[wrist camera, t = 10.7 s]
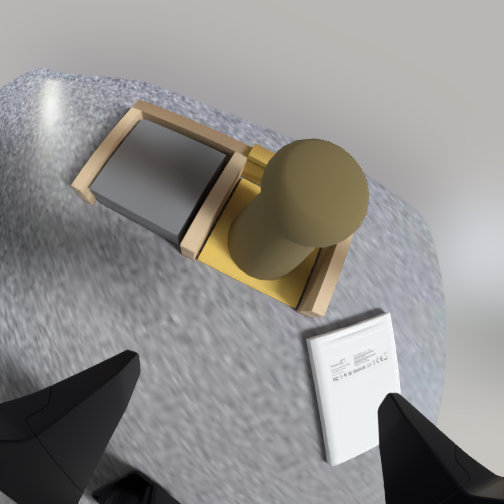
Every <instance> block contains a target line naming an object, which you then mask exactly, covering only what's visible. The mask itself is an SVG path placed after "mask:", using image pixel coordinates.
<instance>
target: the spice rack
mask: <svg viewBox="0 0 504 504" xmlns="http://www.w3.org/2000/svg"><path fill="white" fill-rule="evenodd" d="M274 155H275V153H273V152H271V151H269V150H267V149H265V148H263V147H261V146H259V145H257V144H255V145H254V147H253V148H252V147H250V146H248V145H246V144H244V143H242V142H240V141H237V140H235V139H233V138H231V137H229V136H227V135H225V134H222V133H220V132H218V131H216V130H214V129H211V128H209V127H207V126H205V125H202V124H200V123H198V122H195V121H193V120H191V119H188V118H186V117H183V116H181V115H178V114H176V113H173V112H171V111H168V110H166V109H163V108H161V107H158V106H155V105H153V104H150V103H147V102H144V101H142V100H139V101H138V102H137V103H136V104H135V105H134V106H133V107H132V108H131V109H130V110H129V111H128V112H127V114H126V115H125V116H124V117H123V118H122V119H121V120H120V121H119V123H118V124H117V125H116V126H115V127H114V128H113V130H112V131H111V132H110V133H109V134H108V136H107V137H106V138H105V139H104V141H103V142H102V143H101V144H100V146H99V147H98V148H97V150H96V151H95V152H94V154H93V155H92V156H91V158H90V159H89V160H88V162H87V163H86V164H85V166H84V167H83V169H82V170H81V171H80V173H79V174H78V176H77V177H76V179H75V180H74V182H73V183H72V185H71V186H72V187H73V188H74V190H75V191H76V192H77V193H78V194H79V195H80V197H81V198H82V199H83V200H84V201H85V202H87V203H89V204H90V205H92V206H93V204H94V203H95V201H96V200H97V199H98V201H99V202H100V203H101V204H103V205H105V206H106V207H108V208H110V209H112V210H114V211H115V212H117V213H119V214H121V215H123V216H125V217H126V218H128V219H130V220H132V221H134V222H135V223H137V224H139V225H141V226H143V227H145V228H147V229H148V230H150V231H152V232H154V233H156V234H158V235H160V236H162V237H163V238H165V239H167V240H169V241H171V242H173V243H175V244H177V245H179V246H180V247H181V252H182V255H183V256H185V257H187V258H189V259H191V260H193V261H194V260H195V258H196V256H197V254H198V252H199V250H200V249H201V247H202V245H203V243H204V241H205V239H206V237H207V236H208V234H209V232H210V230H211V228H212V226H213V225H214V223H215V221H216V219H217V217H218V215H219V214H220V212H221V210H222V208H223V206H224V205H225V203H226V201H227V199H228V198H229V196H230V194H231V192H232V191H233V189H234V187H235V185H236V184H237V182H238V180H239V178H240V177H243V178H245V179H247V180H249V181H251V182H253V183H255V184H257V185H259V186H261V179H262V176H263V173H264V171H265V168H266V166H267V164H268V161H269V160H270V159H271V158H272V157H273V156H274ZM223 168H225V169H224V171H223V172H222V170H223ZM221 173H222V174H221ZM218 178H219V179H218ZM243 178H242V179H241V181H240V183H239V185H238V186H237V188H236V190H235V192H234V193H233V195H232V197H231V199H230V201H229V202H228V204H227V206H226V208H225V210H224V211H223V213H222V215H221V217H220V219H219V220H218V222H217V224H216V226H215V228H214V230H213V231H212V233H211V235H210V237H209V239H208V241H207V243H206V244H205V246H204V248H203V250H202V252H201V254H200V256H199V258H198V260H199V261H201V262H203V263H204V264H206V265H208V266H210V267H212V268H214V269H216V270H218V271H220V272H222V273H224V274H226V275H228V276H230V277H232V278H234V279H236V280H238V281H240V282H242V283H244V284H246V285H248V286H250V287H252V288H254V289H256V290H258V291H260V292H262V293H264V294H266V295H268V296H270V297H272V298H274V299H277V300H279V301H281V302H283V303H285V304H287V305H289V306H291V307H293V308H296V306H297V304H298V302H299V299H300V297H301V295H302V292H303V290H304V287H305V285H306V282H307V280H308V277H309V275H310V273H311V270H312V268H313V265H314V262H315V260H316V257H317V255H318V252H319V250H320V247H316V248H315V249H314V250H313V251H312V252H311V253H310V254H309V255H308V256H307V257H306V258H305V259H304V260H303V261H302V262H301V263H300V264H299V265H298V266H297V267H296V268H295V269H294V270H293V271H292V272H290V273H289V274H288V275H286V276H285V277H283V278H279V279H276V280H273V281H272V280H259V279H256V278H253V277H250V276H248V275H247V274H246V273H244V272H243V271H242V270H240V269H239V268H238V267H237V265H236V264H235V262H234V261H233V259H232V258H231V255H230V252H229V248H228V232H229V229H230V226H231V224H232V222H233V220H234V219H235V218H236V217H237V216H238V215H239V213H240V212H241V211H242V210H243V209H244V208H245V207H246V206H247V205H248V204H249V203H250V202H251V201H252V200H253V199H254V198H255V197H256V196H257V195H258V194H259V193H260V192H261V187H259V186H257V185H255V184H253V183H251V182H249V181H247V180H245V179H243ZM215 183H216V184H215ZM212 188H213V189H212ZM209 193H210V194H209ZM206 198H207V199H206ZM203 203H204V204H203ZM200 208H201V209H200ZM199 210H200V211H199ZM196 215H197V216H196ZM195 217H196V218H195ZM192 222H193V223H192ZM191 224H192V225H191ZM188 229H189V230H188ZM187 231H188V232H187ZM353 234H354V233H353ZM353 234H352V235H351V236H349V237H348V238H347V239H346V240H344V241H342V242H340V243H338V244H334V245H331V246H328V247H322V249H321V251H320V254H319V256H318V259H317V262H316V264H315V267H314V269H313V272H312V274H311V277H310V279H309V282H308V284H307V287H306V289H305V292H304V294H303V296H302V299H301V301H300V304H299V306H298V308H297V311H296V312H298V313H300V314H302V315H304V316H306V317H324V315H325V312H326V310H327V307H328V305H329V302H330V300H331V297H332V294H333V292H334V289H335V286H336V284H337V281H338V278H339V275H340V272H341V270H342V267H343V264H344V261H345V258H346V255H347V252H348V249H349V246H350V243H351V240H352V237H353ZM183 238H184V239H183ZM182 240H183V241H182Z"/></svg>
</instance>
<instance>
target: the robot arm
mask: <svg viewBox="0 0 504 504" xmlns="http://www.w3.org/2000/svg"><path fill="white" fill-rule="evenodd" d="M139 375H140V360H139V354H138V353H137V352H134V351H131V350H126V351H124V352H122V353H119V354H117V355H115V356H113V357H111V358H109V359H107V360H105V361H103V362H101V363H99V364H97V365H95V366H92V367H90V368H88V369H86V370H84V371H82V372H80V373H78V374H75V375H73V376H71V377H69V378H67V379H65V380H62V381H60V382H58V383H56V384H54V385H52V386H49V387H47V388H44V389H42V390H40V391H37V392H35V393H32V394H30V395H27V396H24V397H21V398H17V399H14V400H11V401H7V402H4V403H0V504H78V502H79V500H80V498H81V496H82V494H83V493H82V492H84V489H85V487H86V485H87V483H88V481H89V479H90V477H91V475H92V473H93V471H94V469H95V467H96V465H97V463H98V461H99V460H100V458H101V456H102V454H103V452H104V450H105V448H106V446H107V444H108V442H109V440H110V438H111V436H112V434H113V433H114V431H115V429H116V427H117V425H118V423H119V421H120V419H121V418H122V416H123V414H124V412H125V410H126V408H127V406H128V403H129V401H130V398H131V395H132V393H133V390H134V388H135V385H136V383H137V380H138V378H139ZM377 414H378V433H379V449H380V456H381V464H382V472H383V481H384V490H385V502H386V504H504V477H501V476H498V475H495V474H494V473H492V472H491V471H490V470H488V469H487V468H485V467H484V466H483V465H481V464H480V463H478V462H477V461H476V460H474V459H473V458H472V457H470V456H469V455H468V454H467V453H465V452H464V451H463V450H462V449H461V448H459V447H458V446H457V445H456V444H455V443H454V442H453V441H452V440H450V439H449V438H448V437H447V436H446V435H445V434H444V433H442V432H441V431H440V430H439V429H438V428H437V427H436V426H435V425H434V424H433V423H431V422H430V421H429V420H428V419H427V418H426V417H425V416H424V415H422V414H421V413H420V412H419V411H418V410H417V409H416V408H415V407H414V406H412V405H411V404H410V403H409V402H408V401H407V400H406V399H405V398H404V397H402V396H401V395H400V394H399V393H388V394H387V395H386V396H385V398H384V400H383V401H382V403H381V404H380V406H379V408H378V412H377ZM134 475H137V476H138V477H135V476H134ZM96 495H97V496H99V497H97V496H96ZM92 497H93V498H94V499H95V500H96V501H97V502H98V503H100V504H180V503H179V502H178V501H177V500H175V499H174V498H173V497H171V496H170V495H169V494H167V493H166V492H165V491H163V490H162V489H161V488H160V487H158V486H156V485H154V484H153V483H152V482H151V481H150V480H148V479H147V478H146V477H145V476H144V475H142V474H141V473H140V472H138V471H131V472H130V473H128V474H126V475H124V476H122V477H121V478H119V479H117V480H115V481H113V482H111V483H109V484H107V485H105V486H104V487H102V488H100V489H98V490H95V491H94V492H93V493H92Z"/></svg>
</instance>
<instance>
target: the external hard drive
mask: <svg viewBox="0 0 504 504" xmlns="http://www.w3.org/2000/svg"><path fill="white" fill-rule="evenodd" d="M306 342H307V348H308V352H309V358H310V363H311V369H312V374H313V380H314V385H315V391H316V397H317V403H318V408H319V414H320V420H321V426H322V433H323V439H324V445H325V452H326V458H327V463H328V464H329V465H330V466H335V465H338V464H340V463H342V462H345V461H347V460H349V459H351V458H353V457H355V456H357V455H359V454H361V453H363V452H365V451H367V450H369V449H371V448H373V447H375V446H377V445H379V433H378V414H377V412H378V408H379V406H380V404H381V403H382V401H383V400H384V398H385V396H386V395H387V394H388V393H399V394H400V395H401V393H400V382H399V372H398V363H397V355H396V348H395V341H394V335H393V329H392V322H391V316H390V312H388V313H383V314H380V315H378V316H375V317H372V318H369V319H366V320H364V321H361V322H358V323H356V324H354V325H351V326H348V327H345V328H340V329H337V330H334V331H330V332H327V333H324V334H321V335H317V336H314V337H310V338H307V339H306Z"/></svg>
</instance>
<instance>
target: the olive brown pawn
mask: <svg viewBox="0 0 504 504" xmlns="http://www.w3.org/2000/svg"><path fill="white" fill-rule="evenodd" d="M368 201H369V190H368V184H367V180H366V178H365V175H364V173H363V171H362V169H361V167H360V166H359V165H358V163H357V162H356V161H355V159H354V158H353V157H352V156H351V155H350V154H349V153H347V152H346V151H345V150H344V149H342V148H341V147H339V146H337V145H335V144H333V143H331V142H329V141H325V140H320V139H305V140H296V141H294V142H292V143H290V144H288V145H285V146H283V147H282V148H281V149H280V150H278V151H277V153H276V154H275V155H274V156H273V157H272V158H271V159H270V160H269V161H268V164H267V166H266V168H265V171H264V173H263V176H262V179H261V192H260V193H259V194H258V195H257V196H256V197H255V198H254V199H253V200H252V201H251V202H250V203H249V204H248V205H247V206H246V207H245V208H244V209H243V210H242V211H241V212H240V213H239V215H238V216H237V217H236V218H235V219H234V220H233V222H232V224H231V226H230V229H229V232H228V248H229V252H230V255H231V258H232V259H233V261H234V262H235V264H236V265H237V267H238V268H239V269H240V270H242V271H243V272H244V273H246V274H247V275H248V276H250V277H253V278H256V279H259V280H272V281H273V280H276V279H279V278H283V277H285V276H286V275H288V274H289V273H290V272H292V271H293V270H294V269H295V268H296V267H297V266H298V265H299V264H300V263H301V262H302V261H303V260H304V259H305V258H306V257H307V256H308V255H309V254H310V253H311V252H312V251H313V250H314V249H315V248H316V247H328V246H331V245H334V244H338V243H340V242H342V241H344V240H346V239H347V238H348V237H349V236H351V235H352V234H353V233H354V232H356V230H357V229H358V228H359V227H360V225H361V223H362V221H363V220H364V218H365V216H366V214H367V208H368Z"/></svg>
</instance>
